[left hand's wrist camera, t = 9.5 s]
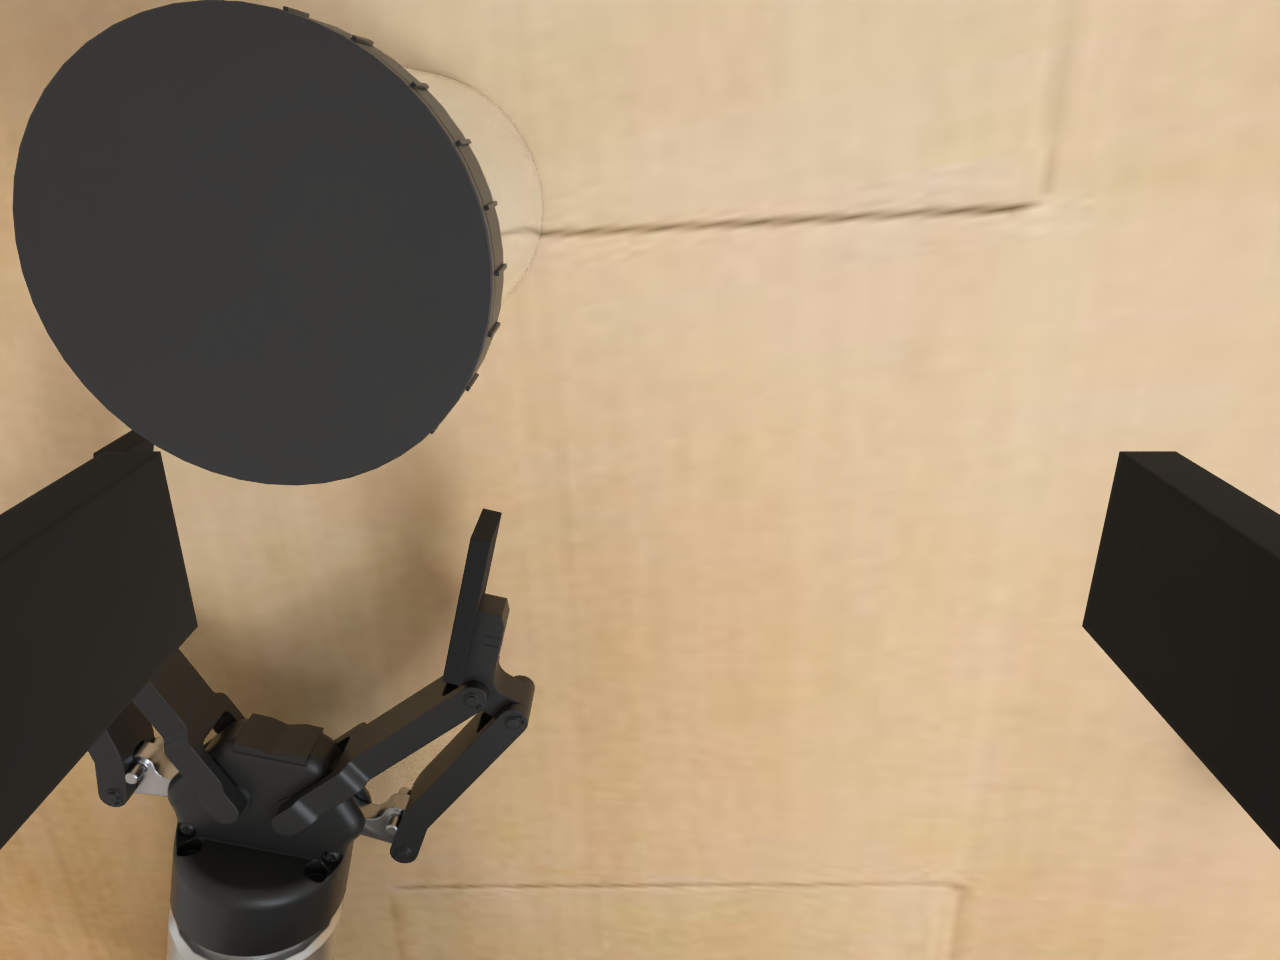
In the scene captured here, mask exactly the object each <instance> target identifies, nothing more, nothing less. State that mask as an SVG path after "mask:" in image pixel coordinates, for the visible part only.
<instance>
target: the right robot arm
mask: <svg viewBox="0 0 1280 960" xmlns="http://www.w3.org/2000/svg"><path fill="white" fill-rule="evenodd" d="M153 448H154V444H153V443H151V442H150V441H148V440H147V439H145V438H144V437H142V436H141V435H139V434H138V433H136V432H135V431H133V430H132V431H130V432H128V433H127V434H125V435H123V436H122V437H120V438H118V439H117V440H115V441H113V442H112V443H110V444H108V445H107V446H105V447H103V448H102V449H100V450H99V451H97V452H95V453H94V457H96V456H98V455H99V454H101V453H103V452H153ZM501 514H502V513H500V512H496V511H492V510H487V509H483V510H482V512H481V515H480V517H479V520H478V522H477V524H476V527H475V529H474V532H473V534H472V536H471V539H470V544H469V549H468V554H467V559H466V564H465V569H464V574H463V579H462V584H461V589H460V595H459V600H458V605H457V610H456V615H455V620H454V625H453V630H452V635H451V640H450V645H449V650H448V655H447V660H446V665H445V670H444V675H443V676H442V677H440V678H439V679H437V680H436V681H434V682H432V683H431V684H429V685H428V686H426V687H425V688H423V689H422V690H420V691H418V692H417V693H415V694H414V695H412V696H411V697H409V698H407V699H406V700H404V701H403V702H401V703H400V704H398V705H397V706H395V707H393V708H392V709H390V710H389V711H387V712H386V713H384V714H382V715H381V716H379V717H378V718H376V719H375V720H373V721H372V722H370V723H368V724H366V723H365V722H363V723H361V724H359V725H357V726H356V727H354V728H353V729H351V730H350V731H348V732H347V733H345V734H343V735H342V736H340V737H339V738H337V739H336V740H333V739H331V738H330V737H329V736H327V735H325V734H323V729H324V728H321V727H316V726H311V725H306V724H305V725H288V724H285V723H283V722H280V721H278V720H276V719H273V718H271V717H267V716H262V715H257V714H252V715H251V717H250V718H249V719H245V718H244V716H243V715H242V714H241V713H240V711H239V710H238V709H237V708H236V706H235V705H234V704H233V703H232V701H231V700H230V699H229V698H228V696H226V695H225V694H223V693H214V692H213V691H212V690H211V688H210V687H209V686H208V685H207V683H206V682H205V681H204V680H203V678H202V677H201V676H200V675H199V673H198V672H197V671H196V670H195V668H194V667H193V666H192V665H191V663H190V662H189V661H188V660H187V658H186V657H185V656H184V655H183V653H182V652H181V651H180V650H179V648H178V649H177V650H176V651H175V653H174V654H173V655H172V656H171V657H170V658H169V659H168V660H167V662H166V663H165V664H164V665H163V666H162V667H161V668H160V669H159V671H158V672H157V673H156V674H155V675H154V676H153V677H152V679H151V680H150V681H149V682H148V683H147V684H146V685H145V686H144V688H143V689H142V690H141V691H140V692H139V693H138V694H137V696H136V697H135V698H134V699H133V700H132V701H131V702H130V703H129V705H128V706H127V707H126V708H125V709H124V710H123V711H122V712H121V714H120V715H119V716H118V717H117V718H116V719H115V720H114V722H113V723H112V724H111V725H110V726H109V727H108V728H107V729H106V731H105V732H104V733H103V734H102V735H101V736H100V737H99V739H98V740H97V741H96V742H95V743H94V744H93V745H92V746H91V748H90V749H89V750H88V752H89V753H90V755H91V757H92V759H93V761H94V762H95V768H96V776H97V784H98V792H99V796H100V799H101V800H102V801H103V802H104V803H105V804H107V805H109V806H113V807H120V806H123V805H124V804H125V803H126V802H127V801H128V799H129V798H130V797H131V796H132V794H133V793H140V794H149V795H158V796H168V799H169V801H170V803H171V805H172V807H173V808H174V810H175V812H176V815H177V818H178V823H177V829H176V835H175V841H174V850H173V866H172V881H171V898H170V903H171V907H170V910H169V922H168V941H167V960H333V957H334V952H335V946H336V941H337V935H338V930H339V924H340V919H341V913H342V908H343V897H344V894H345V891H346V885H347V879H348V873H349V867H350V861H351V855H352V849H353V843H354V840H355V839H356V838H357V837H358V836H359V835H360V834H361V835H365V836H368V837H372V838H375V839H379V840H382V841H386V842H389V843H392V846H391V848H390V854H391V856H392V858H393V859H394V860H396V861H398V862H400V863H410V862H412V861H414V860H415V859H416V857H417V855H418V853H419V850H420V847H421V844H422V842H423V839H424V836H425V833H426V831H427V829H428V828H429V827H430V826H431V824H432V823H433V822H434V821H435V820H436V819H437V818H438V817H439V816H440V815H441V814H442V813H443V812H444V811H445V810H446V809H447V808H448V807H449V806H450V805H451V804H452V803H453V802H454V801H455V800H456V799H457V798H458V797H459V796H460V795H461V794H462V793H463V792H464V791H465V790H466V789H467V788H468V787H469V786H470V785H471V784H472V783H473V782H474V781H475V780H476V779H477V778H478V777H479V776H480V775H481V774H482V773H483V772H484V771H485V770H486V769H487V768H488V767H489V766H490V765H491V764H492V763H493V762H494V761H495V760H496V759H497V758H498V757H499V756H500V755H501V754H502V753H503V752H504V751H505V750H506V749H507V748H508V747H509V746H510V745H511V744H512V743H513V742H514V741H515V740H516V739H517V738H518V737H519V736H520V735H521V734H522V733H523V732H524V731H525V729H526V728H527V726H528V721H529V716H530V711H531V706H532V701H533V695H534V689H535V686H534V683H533V681H532V680H531V679H530V678H528V677H526V676H520V675H519V676H515V677H513V676H511V675H509V674H507V673H506V672H504V670H503V669H502V668H501V666H500V664H499V654H500V650H501V645H502V641H503V636H504V632H505V627H506V623H507V619H508V614H509V605H508V601H507V598H503V597H498V596H494V595H489V594H485V590H486V585H487V580H488V576H489V571H490V566H491V561H492V557H493V552H494V547H495V542H496V538H497V533H498V528H499V523H500V519H501ZM475 714H476V715H475ZM473 715H475V716H474V718H473V719H472V720H471V721H470V722H469V723H468V724H467V725H466V726H465V727H464V728H463V729H462V730H461V731H460V732H459V733H458V734H457V735H456V736H455V737H454V738H453V739H452V741H451V742H450V743H449V744H448V745H447V746H446V747H445V748H444V749H443V750H442V751H441V752H440V753H439V754H438V755H437V756H436V757H435V758H434V759H433V760H432V761H431V762H430V764H429V765H428V766H427V767H426V768H425V769H424V770H423V771H422V772H421V773H420V775H419V776H418V778H417V779H416V781H415V782H414V784H413V787H412V789H411V790H410V789H409V788H405V787H404V788H401V789H400V790H399V793H396V794H394V795H392V796H391V797H390V798H389V799H388V800H387V801H386V802H385V803H383V804H372V800H371V796H370V794H369V792H368V791H367V789H366V788H365V785H366V783H367V782H368V781H369V780H370V779H372V778H373V777H375V776H377V775H378V774H380V773H381V772H383V771H385V770H386V769H388V768H389V767H391V766H393V765H394V764H396V763H398V762H399V761H401V760H402V759H404V758H406V757H407V756H409V755H410V754H412V753H414V752H415V751H417V750H418V749H420V748H422V747H423V746H425V745H427V744H428V743H430V742H431V741H433V740H435V739H436V738H438V737H439V736H441V735H443V734H444V733H446V732H448V731H449V730H451V729H452V728H454V727H456V726H457V725H459V724H460V723H462V722H464V721H465V720H467V719H468V718H470V717H472V716H473ZM152 725H153V726H154V727H155V729H156V730H157V731H158V732H159V733H160V735H161V736H162V737H163V739H164V740H163V739H162V738H159V737H157V738H154V732H153V728H152ZM212 728H213V729H214V731H215V732H216V733H217V735H216V736H215V737H214V738H212V739H211V740H210V741H209V742H207V743H206V744H205V745H203V742H204V739H205V738H206V736H207V735H208V734H209V732H210V731H211V729H212ZM163 748H164V751H163V750H162V749H163ZM164 752H165V754H164ZM165 755H166V756H167V758H168V759H169V760H170V761H169V760H168V759H167V758H166V756H165Z"/></svg>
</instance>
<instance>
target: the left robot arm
mask: <svg viewBox="0 0 1280 960" xmlns="http://www.w3.org/2000/svg"><path fill="white" fill-rule="evenodd" d="M197 627H198V625H197V620H196V616H195V611H194V606H193V602H192V597H191V592H190V588H189V583H188V578H187V574H186V569H185V564H184V560H183V555H182V550H181V546H180V541H179V536H178V532H177V527H176V522H175V518H174V513H173V508H172V504H171V499H170V495H169V490H168V485H167V481H166V476H165V471H164V467H163V462H162V457H161V453H160V452H103V453H101V454H99V455H98V456H96V457H94V458H93V459H91V460H90V461H88V462H86V463H85V464H83V465H81V466H80V467H78V468H76V469H75V470H73V471H71V472H70V473H68V474H67V475H65V476H63V477H62V478H60V479H58V480H57V481H55V482H53V483H52V484H50V485H48V486H47V487H45V488H43V489H42V490H40V491H39V492H37V493H35V494H34V495H32V496H30V497H29V498H27V499H25V500H24V501H22V502H20V503H19V504H17V505H16V506H14V507H12V508H11V509H9V510H7V511H6V512H4V513H2V514H1V515H0V849H1V848H2V847H3V846H4V845H5V844H6V843H7V841H8V840H9V839H10V838H11V837H12V836H13V835H14V834H15V832H16V831H17V830H18V829H19V828H20V827H21V826H22V824H23V823H24V822H25V821H26V820H27V819H28V818H29V817H30V815H31V814H32V813H33V812H34V811H35V810H36V809H37V808H38V806H39V805H40V804H41V803H42V802H43V801H44V800H45V798H46V797H47V796H48V795H49V794H50V793H51V792H52V791H53V789H54V788H55V787H56V786H57V785H58V784H59V783H60V781H61V780H62V779H63V778H64V777H65V776H66V775H67V774H68V772H69V771H70V770H71V769H72V768H73V767H74V766H75V765H76V763H77V762H78V761H79V760H80V759H81V758H82V757H83V755H84V754H85V753H86V752H87V751H88V750H89V749H90V748H91V746H92V745H93V744H94V743H95V742H96V741H97V740H98V739H99V737H100V736H101V735H102V734H103V733H104V732H105V731H106V729H107V728H108V727H109V726H110V725H111V724H112V723H113V722H114V720H115V719H116V718H117V717H118V716H119V715H120V714H121V712H122V711H123V710H124V709H125V708H126V707H127V706H128V705H129V703H130V702H131V701H132V700H133V699H134V698H135V697H136V696H137V694H138V693H139V692H140V691H141V690H142V689H143V688H144V686H145V685H146V684H147V683H148V682H149V681H150V680H151V679H152V677H153V676H154V675H155V674H156V673H157V672H158V671H159V669H160V668H161V667H162V666H163V665H164V664H165V663H166V662H167V660H168V659H169V658H170V657H171V656H172V655H173V654H174V653H175V651H176V650H177V649H178V648H179V647H180V646H181V645H182V643H183V642H184V641H185V640H186V639H187V638H188V637H189V636H190V634H191V633H192V632H193V631H194V630H195V629H196V628H197ZM1082 627H1083V628H1084V629H1085V630H1086V631H1087V632H1088V633H1089V634H1090V636H1091V637H1092V638H1093V639H1094V640H1095V641H1096V642H1097V643H1098V645H1099V646H1100V647H1101V648H1102V649H1103V650H1104V651H1105V653H1106V654H1107V655H1108V656H1109V657H1110V658H1111V659H1112V660H1113V662H1114V663H1115V664H1116V665H1117V666H1118V667H1119V668H1120V670H1121V671H1122V672H1123V673H1124V674H1125V675H1126V676H1127V677H1128V679H1129V680H1130V681H1131V682H1132V683H1133V684H1134V685H1135V686H1136V688H1137V689H1138V690H1139V691H1140V692H1141V693H1142V694H1143V696H1144V697H1145V698H1146V699H1147V700H1148V701H1149V702H1150V703H1151V705H1152V706H1153V707H1154V708H1155V709H1156V710H1157V711H1158V712H1159V714H1160V715H1161V716H1162V717H1163V718H1164V719H1165V720H1166V722H1167V723H1168V724H1169V725H1170V726H1171V727H1172V728H1173V729H1174V731H1175V732H1176V733H1177V734H1178V735H1179V736H1180V737H1181V739H1182V740H1183V741H1184V742H1185V743H1186V744H1187V745H1188V746H1189V748H1190V749H1191V750H1192V751H1193V752H1194V753H1195V754H1196V755H1197V757H1198V758H1199V759H1200V760H1201V761H1202V762H1203V763H1204V765H1205V766H1206V767H1207V768H1208V769H1209V770H1210V771H1211V772H1212V774H1213V775H1214V776H1215V777H1216V778H1217V779H1218V780H1219V782H1220V783H1221V784H1222V785H1223V786H1224V787H1225V788H1226V789H1227V791H1228V792H1229V793H1230V794H1231V795H1232V796H1233V797H1234V798H1235V800H1236V801H1237V802H1238V803H1239V804H1240V805H1241V806H1242V808H1243V809H1244V810H1245V811H1246V812H1247V813H1248V814H1249V815H1250V817H1251V818H1252V819H1253V820H1254V821H1255V822H1256V823H1257V824H1258V826H1259V827H1260V828H1261V829H1262V830H1263V831H1264V832H1265V834H1266V835H1267V836H1268V837H1269V838H1270V839H1271V840H1272V841H1273V843H1274V844H1275V845H1276V846H1277V847H1278V848H1279V849H1280V515H1279V514H1278V513H1276V512H1274V511H1273V510H1271V509H1269V508H1268V507H1266V506H1264V505H1263V504H1261V503H1260V502H1258V501H1256V500H1255V499H1253V498H1251V497H1250V496H1248V495H1246V494H1245V493H1243V492H1241V491H1240V490H1238V489H1237V488H1235V487H1233V486H1232V485H1230V484H1228V483H1227V482H1225V481H1223V480H1222V479H1220V478H1218V477H1217V476H1215V475H1213V474H1212V473H1210V472H1209V471H1207V470H1205V469H1204V468H1202V467H1200V466H1199V465H1197V464H1195V463H1194V462H1192V461H1190V460H1189V459H1187V458H1186V457H1184V456H1182V455H1181V454H1179V453H1177V452H1120V453H1119V457H1118V462H1117V467H1116V471H1115V476H1114V481H1113V485H1112V490H1111V494H1110V499H1109V504H1108V508H1107V513H1106V518H1105V522H1104V527H1103V532H1102V536H1101V541H1100V546H1099V550H1098V555H1097V560H1096V564H1095V569H1094V574H1093V578H1092V583H1091V588H1090V592H1089V597H1088V602H1087V606H1086V611H1085V616H1084V620H1083V625H1082Z"/></svg>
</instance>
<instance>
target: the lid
mask: <svg viewBox="0 0 1280 960" xmlns="http://www.w3.org/2000/svg"><path fill="white" fill-rule="evenodd" d="M373 43H374V42H373V41H371V40H369V39H365V38H362V37H358V36H355V35H351V34H349V33H347V32H345V31H343V30H341V29H339V28H337V27H334V26H331V25H328V24H325V23H322V22H319V21H316V20H313V19H310V18H309V14H308V13H305V12H301V11H298V10H295V9H292V8H289V7H285V6H283V10H281V9H278V8H273V7H268V6H263V5H258V4H252V3H247V2H242V1H225V0H201V1H192V2H182V3H173V4H170V5H166V6H162V7H158V8H155V9H151V10H147V11H143V12H141V13H138V14H136V15H134V16H132V17H129V18H127V19H125V20H123V21H121V22H118V23H116V24H114V25H112V26H110V27H109V28H107V29H106V30H104V31H103V32H101V33H100V34H98V35H97V36H96V37H94V38H93V39H91V40H90V41H88V42H87V43H85V44H84V45H83V46H82V47H81V48H80V49H79V50H78V51H77V52H76V53H75V54H74V55H73V56H72V57H71V58H70V59H68V60H67V61H66V62H65V63H64V64H63V65H62V67H61V68H60V69H59V71H58V72H57V73H56V75H55V76H54V77H53V79H52V80H51V81H50V83H49V84H48V85H47V87H46V88H45V89H44V91H43V93H42V95H41V97H40V99H39V101H38V102H37V104H36V106H35V108H34V110H33V112H32V114H31V116H30V118H29V121H28V124H27V127H26V130H25V133H24V136H23V138H22V141H21V144H20V148H19V153H18V159H17V164H16V170H15V175H14V191H13V217H14V228H15V239H16V245H17V250H18V254H19V259H20V263H21V268H22V272H23V275H24V278H25V281H26V284H27V287H28V290H29V293H30V295H31V298H32V301H33V304H34V306H35V308H36V310H37V312H38V314H39V316H40V318H41V321H42V323H43V325H44V327H45V329H46V331H47V333H48V335H49V336H50V338H51V339H52V341H53V343H54V344H55V346H56V347H57V349H58V351H59V352H60V354H61V355H62V357H63V359H64V360H65V361H66V363H67V364H68V365H69V367H70V368H71V369H72V370H73V372H74V373H75V374H76V375H77V377H78V378H79V379H80V381H81V382H82V383H83V384H84V386H85V387H86V388H87V389H88V390H89V391H90V392H91V393H92V394H93V395H94V396H95V397H96V398H97V399H98V400H99V401H100V402H101V403H102V404H103V405H104V406H105V407H106V408H107V409H108V410H109V411H110V412H111V413H113V414H114V415H115V416H116V417H117V418H119V419H120V420H121V421H122V422H123V423H125V424H126V425H127V426H128V427H129V428H131V429H132V430H133V431H135V432H136V433H138V434H139V435H141V436H142V437H144V438H145V439H147V440H148V441H150V442H151V443H153V444H154V445H156V446H157V447H159V448H161V449H163V450H165V451H167V452H169V453H170V454H172V455H174V456H176V457H178V458H180V459H182V460H184V461H186V462H189V463H191V464H194V465H196V466H199V467H201V468H204V469H206V470H209V471H211V472H214V473H218V474H222V475H225V476H229V477H232V478H236V479H240V480H246V481H252V482H258V483H264V484H278V485H306V484H318V483H327V482H332V481H336V480H341V479H346V478H351V477H354V476H356V475H359V474H362V473H365V472H368V471H371V470H373V469H376V468H378V467H380V466H382V465H384V464H386V463H388V462H390V461H392V460H394V459H396V458H398V457H399V456H401V455H402V454H404V453H405V452H407V451H408V450H410V449H411V448H412V447H414V446H415V445H417V444H418V443H419V442H421V441H422V440H423V439H424V438H425V437H426V436H427V435H428V434H429V433H431V434H433V433H434V432H435V430H436V429H437V427H438V426H439V424H440V423H441V422H442V421H443V419H444V418H445V417H446V416H447V414H448V413H449V412H450V411H451V409H452V408H453V407H454V406H455V404H456V403H457V402H458V400H459V399H460V397H461V396H462V394H463V393H464V391H465V390H466V391H469V390H470V388H471V387H472V385H473V383H474V382H475V380H476V379H477V377H478V376H479V374H477V373H476V372H477V370H478V369H479V367H480V365H481V364H482V362H483V360H484V358H485V355H486V353H487V350H488V348H489V346H490V343H491V341H492V338H493V336H494V334H495V332H496V331H497V329H498V328H499V326H500V323H499V322H497V320H498V316H499V312H500V308H501V300H502V291H503V282H504V270H505V269H506V268H507V264H506V263H503V246H502V240H501V233H500V226H499V220H498V216H497V213H496V209H495V206H497V205H498V203H497V201H493V198H492V195H491V191H490V189H489V186H488V184H487V181H486V179H485V177H484V174H483V172H482V169H481V167H480V164H479V162H478V160H477V158H476V157H475V155H474V153H473V151H472V149H471V148H470V146H469V144H471V143H472V142H471V140H470V139H465V137H464V135H463V133H462V132H461V131H460V129H459V128H458V127H457V125H456V124H455V122H454V121H453V120H452V118H451V117H450V115H449V114H448V113H447V111H446V110H445V109H444V107H443V106H442V105H441V104H440V103H439V102H438V101H437V100H436V99H435V97H434V96H433V95H432V94H431V93H430V92H429V91H428V90H427V89H428V88H429V86H428V85H427V84H426V83H421V82H420V81H418V80H417V79H416V78H415V77H414V76H412V75H411V74H410V73H409V72H408V71H407V70H405V69H404V68H403V67H402V66H401V65H400V64H398V63H397V62H396V61H395V60H393V59H392V58H390V57H389V56H387V55H386V54H384V53H383V52H381V51H380V50H378V49H377V48H375V47H374V46H372V45H373Z"/></svg>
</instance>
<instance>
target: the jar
mask: <svg viewBox="0 0 1280 960" xmlns="http://www.w3.org/2000/svg"><path fill="white" fill-rule="evenodd" d="M403 68H404V69H405V70H407V71H408V72H409V73H410V74H411V75H412V76H414V77H415V78H416V79H417V80H418V81H420V82H421V83H426V84H427V85H428V86H429V88H428V89H427V90H428V91H429V92H430V93H431V94H432V95H433V96H434V97H435V99H436V100H437V101H438V102H439V103H440V104H441V105H442V106H443V107H444V109H445V110H446V111H447V113H448V114H449V115H450V117H451V118H452V120H453V121H454V122H455V124H456V125H457V127H458V128H459V129H460V131H461V132H462V133H463V135H464V137H465V139H470V140H471V142H472V143H471V144H469V146H470V148H471V149H472V151H473V153H474V155H475V157H476V158H477V160H478V162H479V164H480V167H481V169H482V172H483V174H484V177H485V179H486V181H487V184H488V186H489V189H490V191H491V195H492V198H493V201H497V203H498V205H497V206H495V209H496V213H497V216H498V220H499V226H500V233H501V240H502V246H503V263H506V264H507V268H506V269H505V270H504V282H503V291H502V300H501V305H502V303H503V302H504V301H505V300H506V298H507V297H508V296H509V294H510V293H511V292H512V291H513V289H514V288H515V287H516V285H517V284H518V283H519V282H520V280H521V279H522V278H523V276H524V275H525V273H526V271H527V269H528V268H529V266H530V264H531V262H532V260H533V257H534V255H535V252H536V250H537V246H538V243H539V239H540V235H541V228H542V220H543V199H542V191H541V184H540V180H539V176H538V172H537V168H536V165H535V163H534V160H533V158H532V155H531V153H530V151H529V149H528V147H527V145H526V143H525V141H524V139H523V138H522V136H521V134H520V133H519V132H518V130H517V129H516V127H515V126H514V125H513V123H512V122H511V121H510V120H509V119H508V117H507V116H506V115H505V114H504V113H503V112H502V111H501V110H500V109H499V108H498V107H497V106H496V105H495V104H493V103H492V102H491V101H490V100H489V99H488V98H486V97H485V96H483V95H482V94H480V93H479V92H477V91H476V90H474V89H473V88H471V87H469V86H467V85H465V84H463V83H461V82H459V81H457V80H454V79H451V78H448V77H445V76H442V75H438V74H433V73H428V72H424V71H419V70H414V69H410V68H405V67H403Z"/></svg>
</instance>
